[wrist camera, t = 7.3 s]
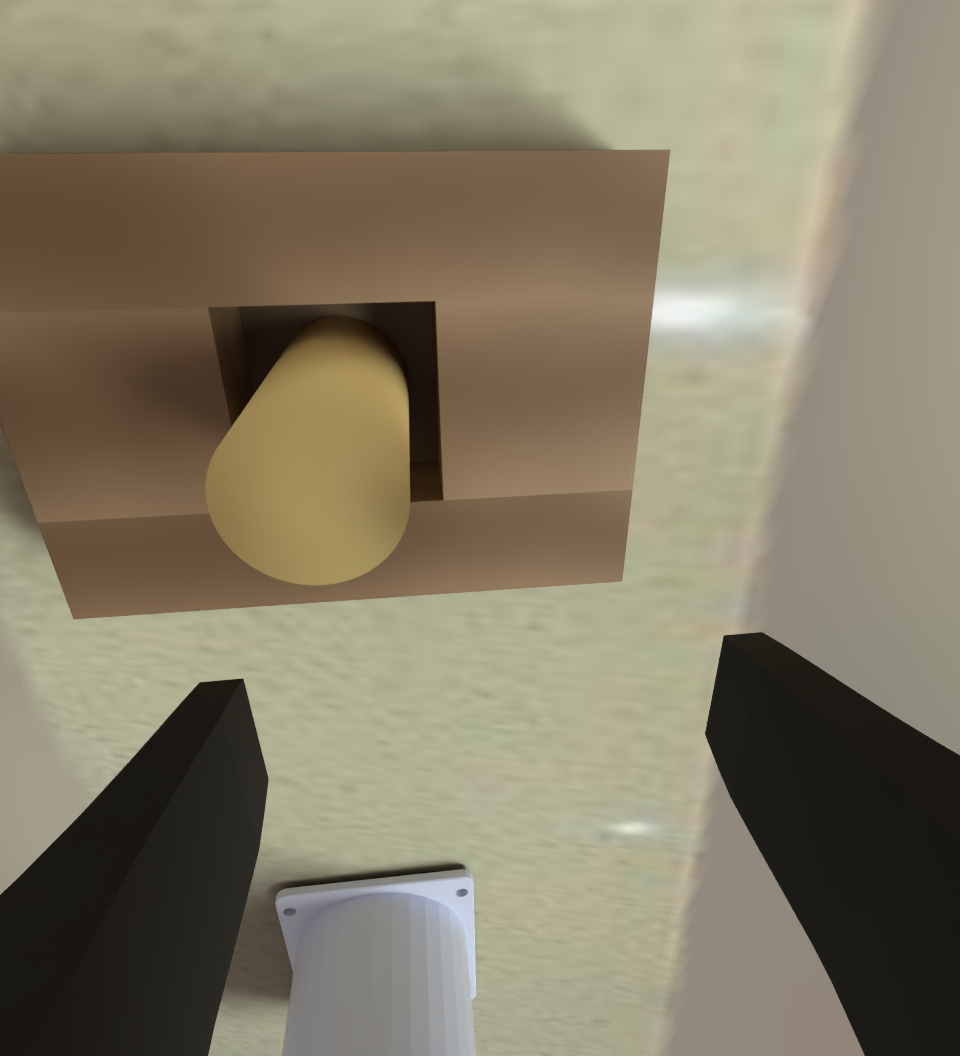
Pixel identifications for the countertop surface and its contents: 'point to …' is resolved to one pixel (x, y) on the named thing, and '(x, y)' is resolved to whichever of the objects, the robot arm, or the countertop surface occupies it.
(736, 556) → the countertop surface
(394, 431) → the peg
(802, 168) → the countertop surface
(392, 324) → the socket block
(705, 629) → the countertop surface
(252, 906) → the countertop surface
